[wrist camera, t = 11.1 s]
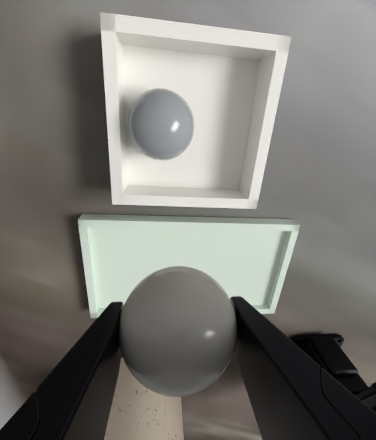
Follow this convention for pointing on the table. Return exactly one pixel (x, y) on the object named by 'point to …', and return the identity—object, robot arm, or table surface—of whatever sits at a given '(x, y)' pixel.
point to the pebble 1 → (160, 124)
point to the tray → (186, 254)
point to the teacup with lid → (142, 412)
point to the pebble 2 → (177, 331)
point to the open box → (193, 109)
